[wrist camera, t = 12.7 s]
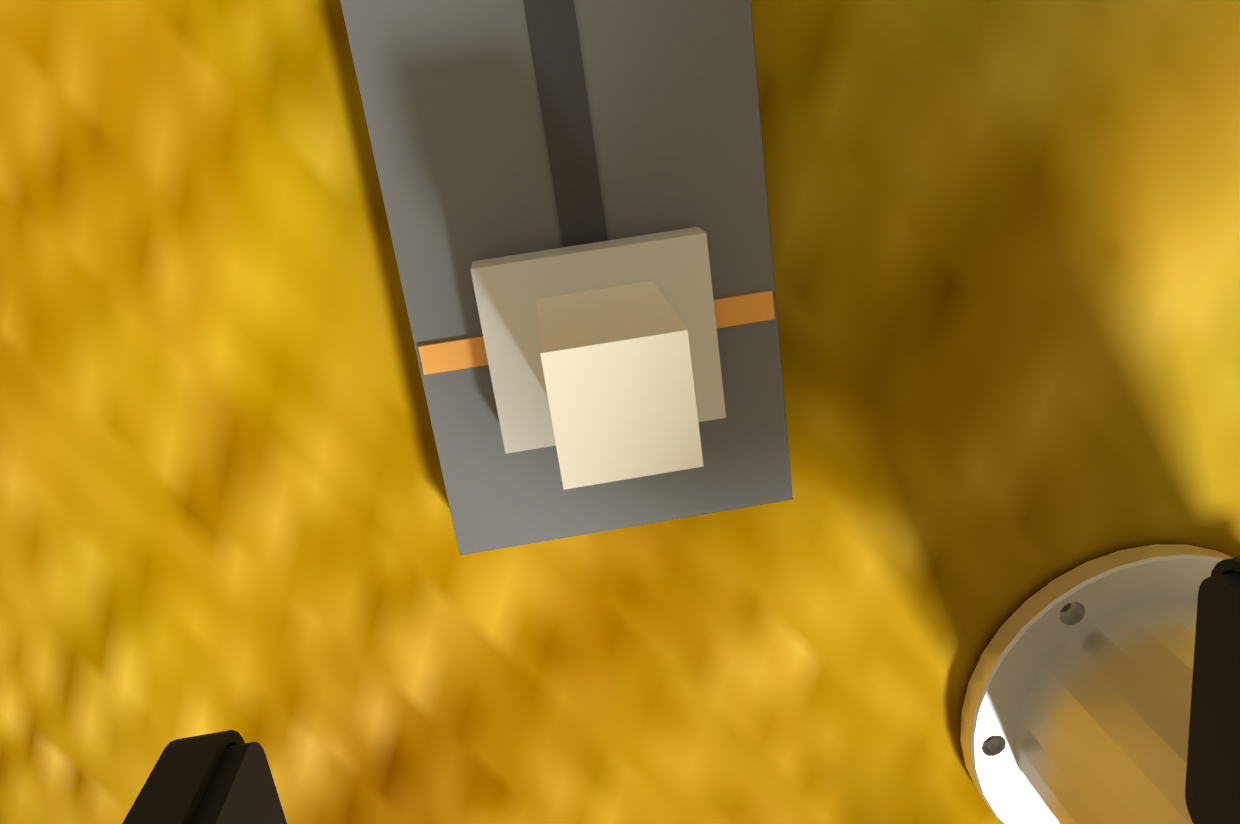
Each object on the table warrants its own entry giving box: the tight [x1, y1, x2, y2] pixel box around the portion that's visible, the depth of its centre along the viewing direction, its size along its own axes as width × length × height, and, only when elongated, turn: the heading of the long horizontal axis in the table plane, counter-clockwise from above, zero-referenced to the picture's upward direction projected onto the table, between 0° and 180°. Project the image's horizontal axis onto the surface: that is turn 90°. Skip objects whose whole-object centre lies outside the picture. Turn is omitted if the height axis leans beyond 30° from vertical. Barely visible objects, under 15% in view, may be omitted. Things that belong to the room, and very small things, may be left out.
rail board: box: [340, 0, 793, 555], centre depth 25 cm, size 10×26×2 cm, turn 8°
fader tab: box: [470, 227, 726, 490], centre depth 23 cm, size 6×5×7 cm
